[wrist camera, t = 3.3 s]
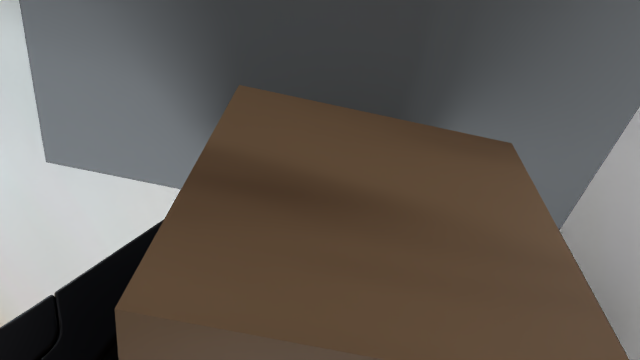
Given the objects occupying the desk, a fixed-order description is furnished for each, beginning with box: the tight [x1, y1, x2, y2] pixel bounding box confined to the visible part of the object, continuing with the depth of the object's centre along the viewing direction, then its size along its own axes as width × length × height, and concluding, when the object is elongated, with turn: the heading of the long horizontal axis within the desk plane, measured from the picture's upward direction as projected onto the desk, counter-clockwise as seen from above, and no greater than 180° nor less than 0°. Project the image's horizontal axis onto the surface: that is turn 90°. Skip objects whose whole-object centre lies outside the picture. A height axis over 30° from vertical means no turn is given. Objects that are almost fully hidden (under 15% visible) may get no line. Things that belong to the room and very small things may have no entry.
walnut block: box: [115, 85, 629, 360], centre depth 8 cm, size 5×5×5 cm
